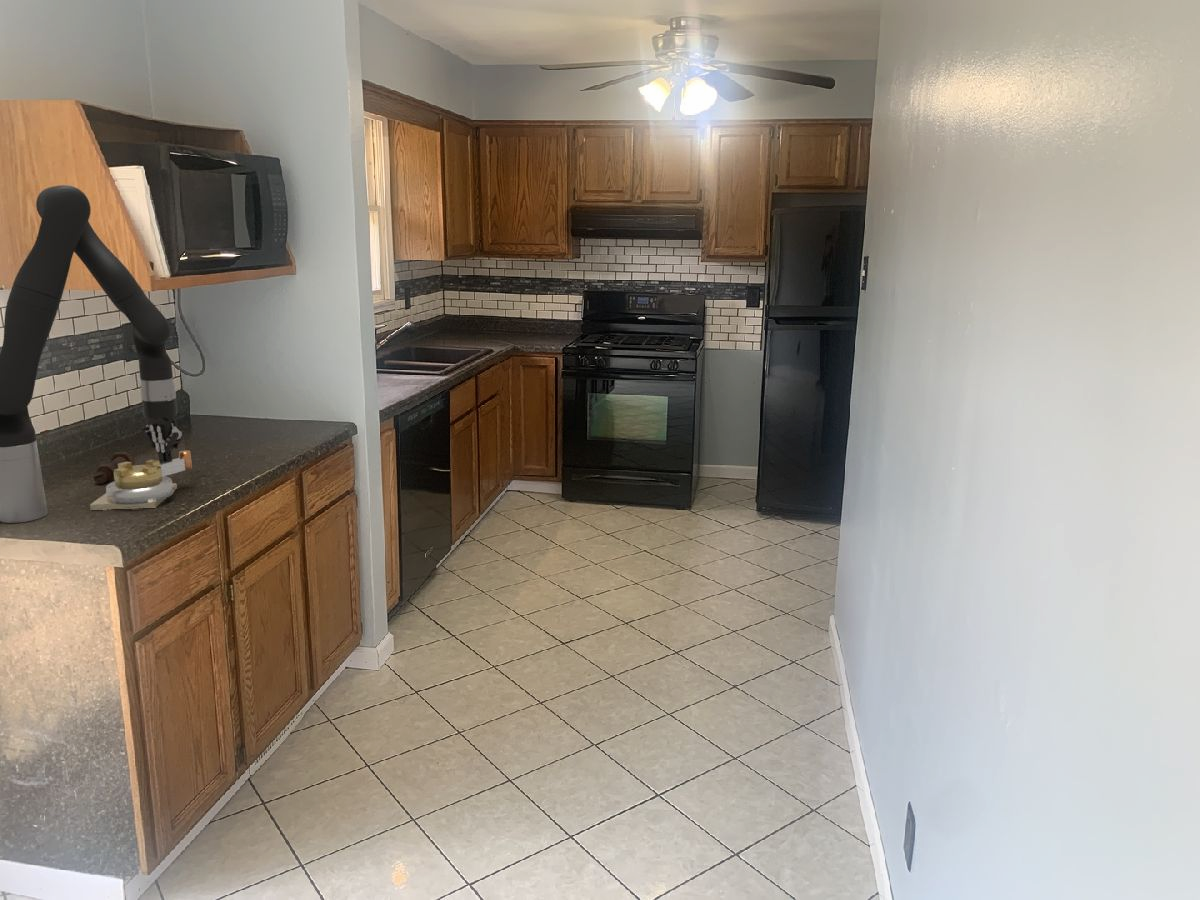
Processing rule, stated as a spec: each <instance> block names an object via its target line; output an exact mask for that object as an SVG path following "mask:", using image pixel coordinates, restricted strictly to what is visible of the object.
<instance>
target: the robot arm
mask: <svg viewBox="0 0 1200 900" xmlns="http://www.w3.org/2000/svg"><path fill="white" fill-rule="evenodd" d="M35 202H36V203H35V205H36V206H35V207H36V212H37V213H38V216H39V217H40V218H41V220H40V224H39V228H38V233H37V236H36V240H35V242H34V244H33V245H32V248H31V250H30V252H29V253H28V255H27V257H26V258H25V259H24V261H23V262H22V264H21V267H20V268H19V269H18V272H17V273H16V275H15V278H14V280H13V283H12V286H11V290H10V292H9V296H8V299H7V302H6V307H5V311H4V325H3V339H2V347H1V349H0V522H1V523H5V524H17V523H26V522H31V521H35V520H38V519H41V518H43V517H45V516H47V515H48V507H47V506H48V505H47V500H46V494H45V488H44V481H43V475H42V468H41V461H40V455H39V449H38V443H37V436H36V430H35V427H34V425H33V423H32V420H31V417H30V414H29V409H28V406H29V405H30V403H31V401H32V400H33V399H32V398H33V396H34V391H35V386H36V385H35V384H36V381H37V374H38V370H39V365H40V360H41V358H42V353H43V351H44V348H45V346H46V344H47V341H48V339H49V335H50V333H51V330H52V327H53V324H54V323H55V319H56V316H57V314H58V311H59V307H60V304H61V300H62V299H63V293H64V291H65V290H64V289H65V287H66V284H67V283H66V282H67V279H68V277H69V271H70V267H71V263H72V259H73V255H74V253H75V255H76V256H77V257H78V258H79V260H81V261H82V263H83V264H84V266H85V268H87V270H88V271H89V272H90V273H91V275H92V277H93V278H94V279H95V281H96V282H97V284H98V285H99V286H100V288H101V289H102V290H103V292H104V293H105V295H106V296H107V297H108V298H109V300H110V301H111V303H112V304H113V305H114V306H115V307H116V309H117V310H118V311H120V312H121V313H123V315H124V316H126V318H127V319H128V321H129V322H130V324H131V325H132V326H131V333H132V338H133V344H134V347H135V351H136V354H137V357H138V366H139V367H138V368H139V369H138V370H139V378H140V398H141V405H142V415H143V417H144V418H145V419H147V420H146V426H144V427H143V426H142V427H141V428H140V431H141V433H142V434H143V436H144V438H145V439H146V441H147V443H148V444H149V446H150V448H151V449H155V451H156V452H158V453H157V454H158V461H159V463H162V462H166V461H169V460H173V459H172V458H173V457H172V451H174V450H177V449H178V447H179V446H180V444H181V442H182V441H183V438H184V436H185V431H184V430H180V429H178V428H177V426H178V425H177V422H176V419H175V417H176V416H177V415H178V413H179V412H178V411H179V410H178V402H177V393H176V386H175V385H176V384H175V383H174V378H173V377H174V376H173V366H172V361H171V357H170V356H169V355H168V353H167V350H166V343H167V342H168V340H169V339H170V337H171V334H172V331H171V329H172V328H171V326H170V323H169V321H168V320H167V318H166V317H165V316H164V315H163V313H162V312H161V311H160V310H159V309H158V307H156V305H155V304H154V302H152V301H151V300H150V299H149V298H148V296H147V295H146V293H145V291H144V290H143V288H142V287H141V286H140V285H139V283H138V282H137V280H136V278H135V277H134V276H133V274H132V273H131V272H130V271H129V270H128V267H126V266H125V265H124V264H123V263H122V261H121V260H120V259H119V258H118V257H117V256H115V255H114V253H113V252H112V251H111V250H110V249H109V248H108V247H107V245H105V244H104V241H102V240H101V239H100V237H99V236H98V235H97V233H96V232H95V230H94V229H93V227H92V225H91V223H90V222H89V220H90V216H91V209H92V208H91V204H90V203H91V202H90V201H89V198H88V197H87V196H86V194H85V193H84V192H83V191H82V190H81V189H79V188H77V187H75V186H72V185H66V184H65V185H64V184H61V185H60V184H59V185H54V186H50V187H47V188H45V189H43V190H41V192H39V194H38V196H37V198H36V201H35Z"/></svg>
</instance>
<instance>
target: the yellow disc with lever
mask: <svg viewBox="0 0 1200 900" xmlns="http://www.w3.org/2000/svg"><path fill="white" fill-rule="evenodd" d="M191 455H192V454H191V451H190V450H187V449H186V450H179V451H178V458H173V459H172V460H169V461H166V462H162V463H160V462H159V460H157V459H149V460H146V461H145V464H136V465H134V464H133V465H132V462H123V463H119V464H118V469H115V470H114V481H115V486H116V487H119V488H142V487H148V486H152V485H156V484H158V483H160V482H162V480H163V479H162V477H163V476H165V477H168V476H170V475H173V474H176V473H180V472H184V471H189V470H192V469H193V465H192V464H193V463H192V456H191Z"/></svg>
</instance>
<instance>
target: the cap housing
mask: <svg viewBox="0 0 1200 900" xmlns="http://www.w3.org/2000/svg"><path fill="white" fill-rule="evenodd" d="M162 479H163V480H162V482H160V483H158V484H156V485H152V486H148V487H142V488H119V487H116V486H115V480H113V481H111V482H110V483H108V484H107V485H106V486H105V491H106V492H105V493H104V494H103V495H101V496H100V497H98V498H97V499H96V500H94V501H93V502H92V503H90V504H89V506H90V507H89V508H90V511H91V510H103V511H111V510H110V509H132V510H143V509H142V508H155V509H157V508H158V507H159V506H160V505H161V504H162V503H163V502H164V501H166V500H167V499H168V498H169V497H171V496H172V495H173V494H174V493H175V492H176V491H177V490H178V485H177V483H175V482H174V483H173V480H172V478H171V477H168V476H163V477H162ZM176 489H177V490H176ZM175 490H176V491H175ZM167 497H168V498H167ZM166 498H167V499H166ZM165 499H166V500H165ZM161 502H162V503H161ZM160 503H161V504H160ZM159 504H160V505H159ZM158 505H159V506H158ZM157 506H158V507H157ZM156 507H157V508H156ZM139 508H141V509H139ZM107 509H109V510H107Z"/></svg>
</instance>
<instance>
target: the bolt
mask: <svg viewBox="0 0 1200 900" xmlns="http://www.w3.org/2000/svg"><path fill="white" fill-rule="evenodd" d="M123 462H132V466H134V462H135V460H134V459H133V457H132V455H131V454H130V453H129V452H126V451H121V452H119V451H118V452H115V453H113V455H112V457H111V460H110V462H109V463H102V464H100V465H98V467H97V469H96V471H95V473H94V474H93V475H92V477H93V481H94V482H95V483H97V484H101V485H102V484H104V483H106V481H107V482H113V481H115V479H114V470H115V469H118V464H119V463H123ZM112 480H113V481H112Z"/></svg>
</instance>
